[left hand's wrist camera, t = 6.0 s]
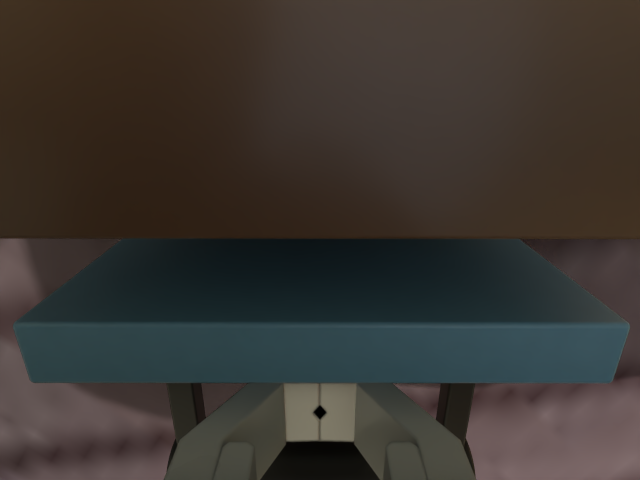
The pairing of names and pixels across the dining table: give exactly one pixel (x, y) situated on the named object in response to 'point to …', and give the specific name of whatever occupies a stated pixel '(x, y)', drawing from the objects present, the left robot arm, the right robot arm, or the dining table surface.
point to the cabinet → (320, 119)
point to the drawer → (321, 325)
